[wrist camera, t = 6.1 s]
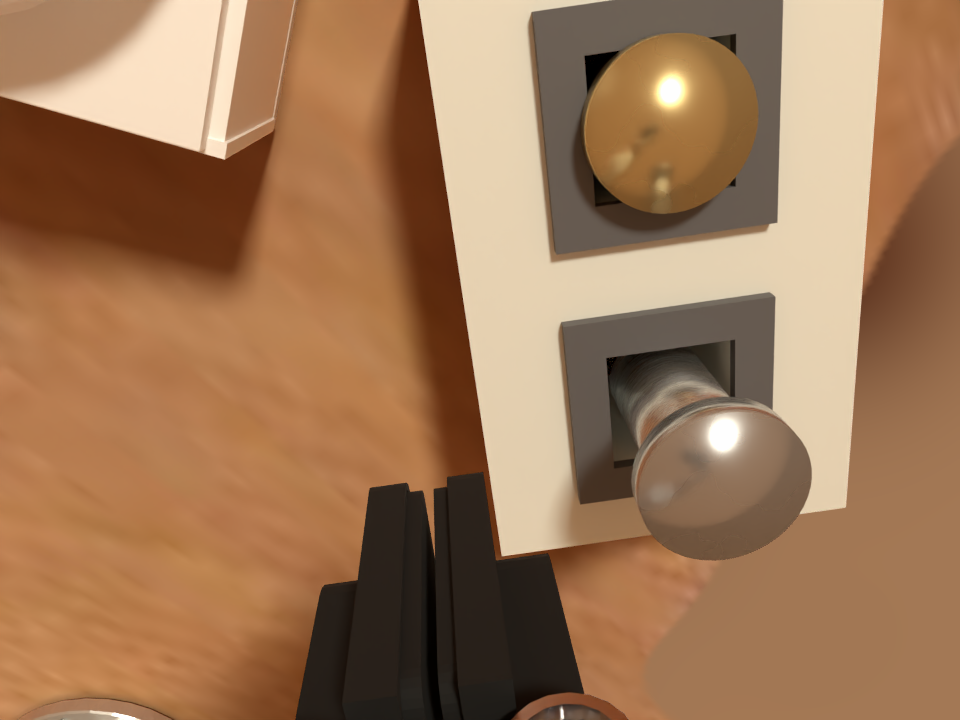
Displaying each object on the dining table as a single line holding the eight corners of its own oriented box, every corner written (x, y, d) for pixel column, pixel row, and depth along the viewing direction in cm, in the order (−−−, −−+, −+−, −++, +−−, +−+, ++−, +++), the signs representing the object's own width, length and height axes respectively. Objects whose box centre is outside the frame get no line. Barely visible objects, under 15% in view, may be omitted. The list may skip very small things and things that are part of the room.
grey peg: (720, 425, 31) (808, 547, 23) (594, 443, 31) (643, 571, 23) (719, 306, 29) (816, 400, 21) (584, 326, 29) (634, 426, 21)
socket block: (770, 420, 37) (852, 514, 30) (490, 460, 37) (502, 564, 30) (782, -90, 28) (903, -134, 21) (416, -36, 28) (408, -61, 21)
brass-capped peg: (681, 161, 31) (757, 200, 24) (556, 179, 31) (592, 224, 24) (677, 24, 29) (759, 20, 21) (543, 43, 29) (579, 47, 22)
